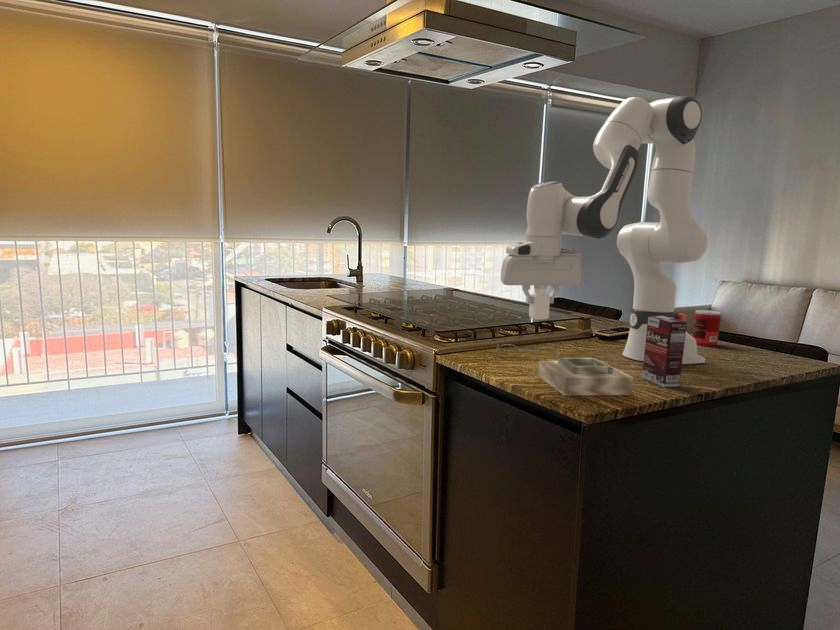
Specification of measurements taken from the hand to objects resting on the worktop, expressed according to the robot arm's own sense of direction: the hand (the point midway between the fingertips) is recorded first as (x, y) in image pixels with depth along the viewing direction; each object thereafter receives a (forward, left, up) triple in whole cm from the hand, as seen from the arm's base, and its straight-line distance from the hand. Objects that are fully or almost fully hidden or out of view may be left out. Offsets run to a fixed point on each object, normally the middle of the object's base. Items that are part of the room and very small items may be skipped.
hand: (539, 303), depth 147 cm
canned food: (-72, -34, -18) cm, 81 cm away
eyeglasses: (-6, -22, -18) cm, 29 cm away
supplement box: (-28, +12, -18) cm, 35 cm away
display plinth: (-7, +14, -17) cm, 23 cm away
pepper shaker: (0, 0, -4) cm, 4 cm away
